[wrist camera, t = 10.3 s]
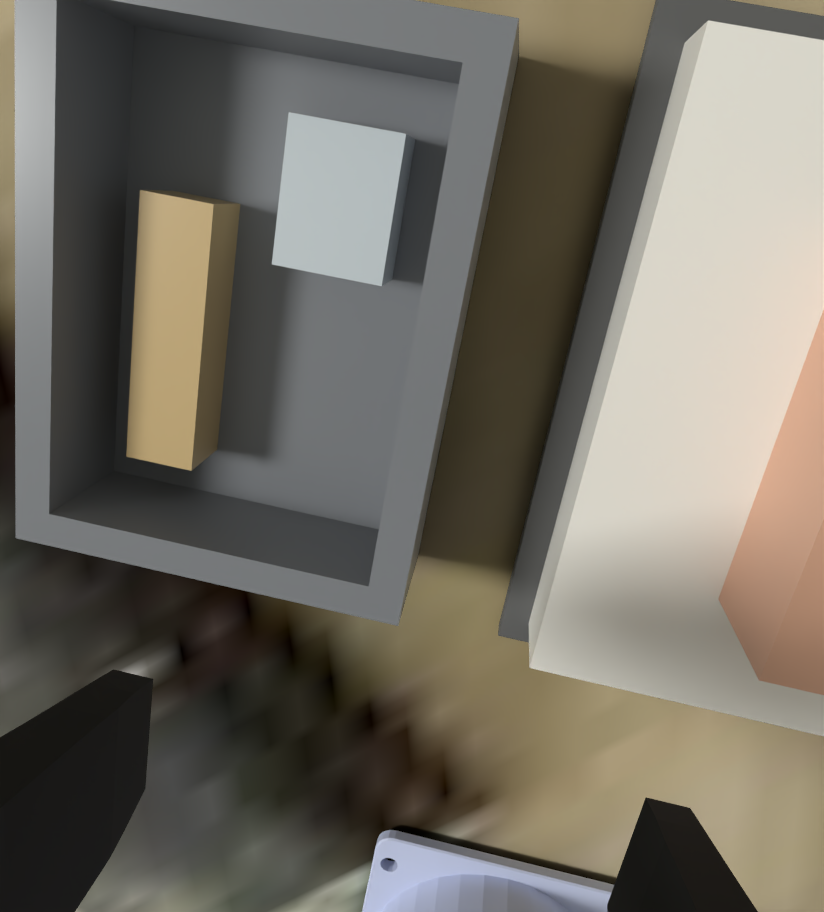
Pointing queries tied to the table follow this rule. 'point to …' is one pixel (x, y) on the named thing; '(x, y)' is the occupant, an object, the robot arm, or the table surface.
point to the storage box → (247, 280)
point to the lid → (709, 409)
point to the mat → (617, 266)
